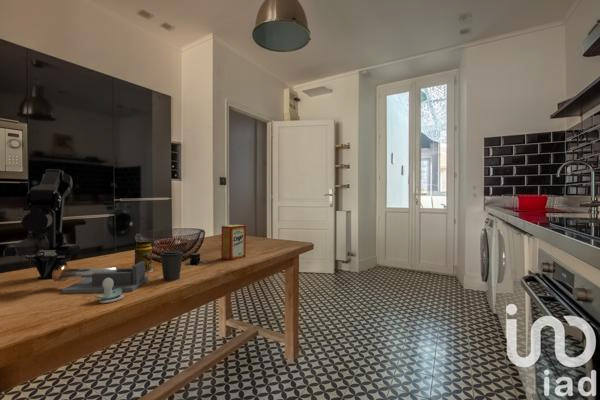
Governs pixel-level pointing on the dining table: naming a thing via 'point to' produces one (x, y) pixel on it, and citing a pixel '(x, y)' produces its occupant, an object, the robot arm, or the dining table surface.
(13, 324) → the dining table surface
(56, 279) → the shaft
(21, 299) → the dining table surface
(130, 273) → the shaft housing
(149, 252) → the condiment
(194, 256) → the black block
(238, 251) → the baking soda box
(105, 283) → the pacifier
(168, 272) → the coffee cup
